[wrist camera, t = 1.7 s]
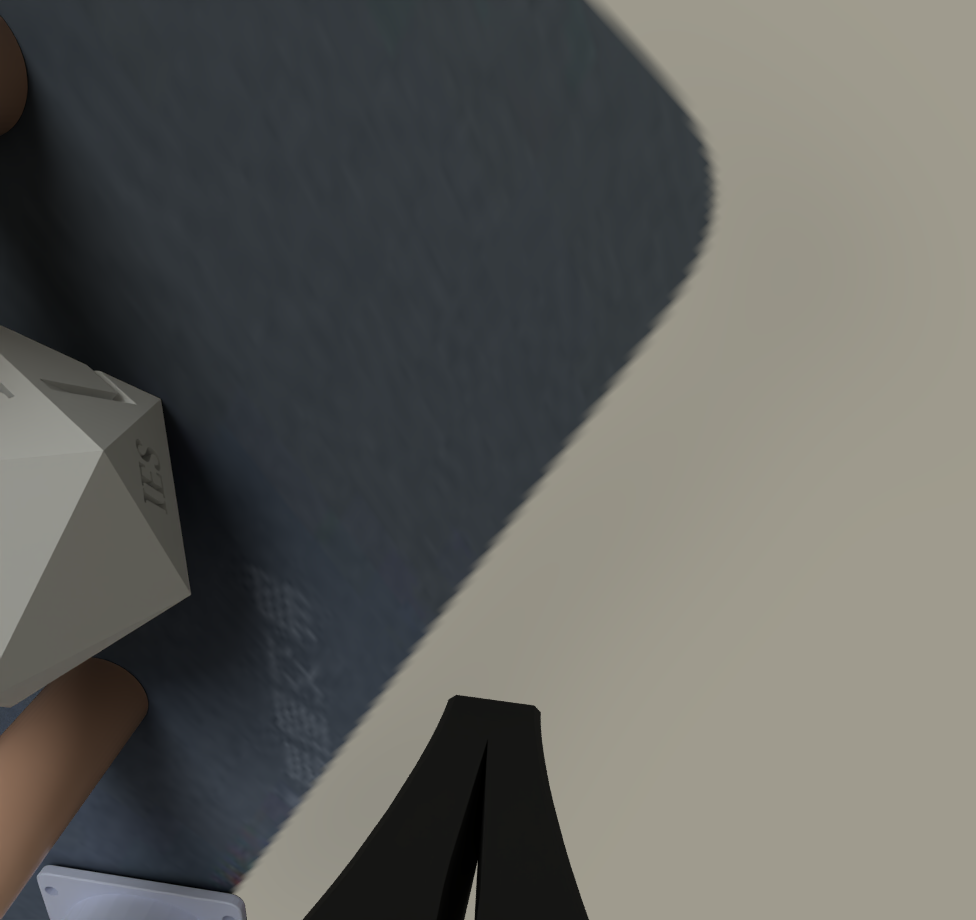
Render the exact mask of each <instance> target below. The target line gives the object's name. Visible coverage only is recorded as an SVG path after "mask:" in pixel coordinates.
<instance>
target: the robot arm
mask: <svg viewBox="0 0 976 920" xmlns="http://www.w3.org/2000/svg"><path fill="white" fill-rule="evenodd" d="M540 716H541V712H540V711H539V710H538V709H537V708H536V707H535V706H533V705H526V704H519V703H511V702H504V701H497V700H490V699H482V698H475V697H468V696H460V695H456V696H454V697H452V698H450V699H449V700H448V703H447V705H446V708H445V711H444V713H443V715H442V717H441V719H440V721H439V723H438V726H437V728H436V730H435V732H434V734H433V735H432V737H431V739H430V741H429V743H428V745H427V747H426V748H425V750H424V752H423V754H422V755H421V757H420V759H419V761H418V762H417V764H416V766H415V768H414V769H413V771H412V772H411V774H410V775H409V777H408V778H407V780H406V782H405V783H404V785H403V786H402V788H401V790H400V791H399V793H398V794H397V796H396V798H395V799H394V801H393V802H392V804H391V805H390V807H389V808H388V810H387V811H386V813H385V814H384V815H383V817H382V818H381V820H380V821H379V822H378V824H377V825H376V827H375V828H374V829H373V831H372V832H371V834H370V835H369V836H368V838H367V839H366V841H365V842H364V843H363V845H362V846H361V847H360V849H359V850H358V852H357V853H356V854H355V856H354V857H353V859H352V860H351V861H350V862H349V864H348V865H347V866H346V867H345V869H344V870H343V871H342V873H341V874H340V875H339V876H338V878H337V879H336V880H335V881H334V883H333V884H332V885H331V886H330V888H329V889H328V890H327V891H326V893H325V894H324V895H323V896H322V897H321V898H320V900H319V901H318V902H317V903H316V904H315V906H314V907H313V908H312V909H311V911H310V912H309V913H308V914H307V915H306V916H305V918H304V919H303V920H464V918H465V913H466V909H467V905H468V900H469V896H470V892H471V887H472V883H473V878H474V874H475V870H476V866H477V861H478V868H477V886H476V904H475V920H589V919H588V916H587V913H586V910H585V907H584V905H583V902H582V899H581V896H580V893H579V890H578V887H577V884H576V881H575V878H574V874H573V872H572V868H571V865H570V862H569V859H568V855H567V852H566V848H565V845H564V842H563V838H562V834H561V830H560V826H559V822H558V819H557V815H556V811H555V808H554V803H553V800H552V795H551V791H550V786H549V781H548V776H547V770H546V765H545V759H544V753H543V745H542V737H541V719H540ZM37 881H38V884H39V887H40V890H41V893H42V896H43V899H44V902H45V905H46V908H47V911H48V914H49V917H50V920H247V917H246V910H245V904H244V902H243V900H242V899H241V898H240V897H238V896H237V895H234V894H229V893H223V892H217V891H211V890H204V889H198V888H192V887H186V886H180V885H173V884H167V883H161V882H155V881H149V880H142V879H136V878H130V877H124V876H117V875H111V874H105V873H99V872H93V871H86V870H80V869H74V868H68V867H61V866H55V865H47V866H44V867H43V869H42V870H41V871H40V873H39V874H38V876H37Z"/></svg>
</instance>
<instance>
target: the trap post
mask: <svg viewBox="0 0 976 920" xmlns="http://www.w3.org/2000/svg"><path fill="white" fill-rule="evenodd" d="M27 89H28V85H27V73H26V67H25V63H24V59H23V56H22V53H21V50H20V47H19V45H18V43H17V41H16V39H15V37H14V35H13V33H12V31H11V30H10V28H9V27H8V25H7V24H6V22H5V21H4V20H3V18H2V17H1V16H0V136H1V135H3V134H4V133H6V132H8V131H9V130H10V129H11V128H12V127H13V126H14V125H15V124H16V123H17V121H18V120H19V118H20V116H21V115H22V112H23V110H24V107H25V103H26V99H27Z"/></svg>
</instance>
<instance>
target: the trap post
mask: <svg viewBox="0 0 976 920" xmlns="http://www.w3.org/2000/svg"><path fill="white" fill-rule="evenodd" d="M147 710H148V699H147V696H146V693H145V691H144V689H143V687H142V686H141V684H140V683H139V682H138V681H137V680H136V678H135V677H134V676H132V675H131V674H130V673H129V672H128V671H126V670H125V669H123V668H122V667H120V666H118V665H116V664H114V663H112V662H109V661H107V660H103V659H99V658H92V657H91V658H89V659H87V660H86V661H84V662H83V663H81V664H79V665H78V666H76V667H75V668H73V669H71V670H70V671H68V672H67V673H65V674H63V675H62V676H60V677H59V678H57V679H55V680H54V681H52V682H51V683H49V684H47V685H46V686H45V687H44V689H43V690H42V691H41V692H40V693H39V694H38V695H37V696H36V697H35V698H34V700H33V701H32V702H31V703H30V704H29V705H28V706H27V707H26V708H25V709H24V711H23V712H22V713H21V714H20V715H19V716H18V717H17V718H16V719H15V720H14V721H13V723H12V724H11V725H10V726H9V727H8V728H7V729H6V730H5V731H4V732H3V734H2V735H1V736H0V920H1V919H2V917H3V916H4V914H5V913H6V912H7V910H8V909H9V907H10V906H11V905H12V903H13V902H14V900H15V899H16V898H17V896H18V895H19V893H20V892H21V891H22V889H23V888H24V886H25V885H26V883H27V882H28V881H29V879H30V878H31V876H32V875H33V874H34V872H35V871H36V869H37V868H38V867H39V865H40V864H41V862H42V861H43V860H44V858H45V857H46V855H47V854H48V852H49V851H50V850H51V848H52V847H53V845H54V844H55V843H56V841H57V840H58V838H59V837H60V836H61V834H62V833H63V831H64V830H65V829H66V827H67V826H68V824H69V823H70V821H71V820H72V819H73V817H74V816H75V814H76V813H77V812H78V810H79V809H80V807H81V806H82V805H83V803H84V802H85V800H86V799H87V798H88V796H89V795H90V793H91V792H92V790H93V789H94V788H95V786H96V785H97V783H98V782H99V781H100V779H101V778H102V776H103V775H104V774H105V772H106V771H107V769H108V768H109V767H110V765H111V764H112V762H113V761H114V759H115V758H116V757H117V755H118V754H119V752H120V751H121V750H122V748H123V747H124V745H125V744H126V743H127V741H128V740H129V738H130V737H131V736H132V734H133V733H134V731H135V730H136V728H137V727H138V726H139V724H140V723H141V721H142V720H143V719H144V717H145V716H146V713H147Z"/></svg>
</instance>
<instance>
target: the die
mask: <svg viewBox="0 0 976 920" xmlns="http://www.w3.org/2000/svg"><path fill="white" fill-rule="evenodd" d="M190 595H191V590H190V584H189V578H188V571H187V565H186V558H185V552H184V545H183V539H182V532H181V526H180V519H179V513H178V506H177V500H176V493H175V487H174V481H173V474H172V468H171V461H170V455H169V448H168V442H167V435H166V429H165V422H164V416H163V409H162V403H161V399H160V398H157V397H155V396H153V395H151V394H149V393H147V392H144V391H142V390H140V389H138V388H136V387H134V386H131V385H129V384H127V383H125V382H123V381H121V380H118V379H116V378H114V377H112V376H110V375H108V374H105V373H103V372H101V371H93V370H92V369H91V368H90V367H88V366H87V365H86V364H84V363H82V362H79V361H77V360H75V359H73V358H71V357H68V356H66V355H64V354H62V353H60V352H58V351H55V350H53V349H51V348H49V347H47V346H45V345H42V344H40V343H38V342H36V341H34V340H32V339H29V338H27V337H25V336H23V335H21V334H19V333H16V332H14V331H12V330H10V329H8V328H6V327H3V326H1V325H0V707H10V708H11V707H12V706H14V705H15V704H17V703H19V702H20V701H22V700H23V699H25V698H27V697H28V696H30V695H31V694H33V693H35V692H36V691H38V690H39V689H41V688H43V687H44V686H46V685H47V684H49V683H51V682H52V681H54V680H55V679H57V678H59V677H60V676H62V675H63V674H65V673H67V672H68V671H70V670H71V669H73V668H75V667H76V666H78V665H79V664H81V663H83V662H84V661H86V660H87V659H89V658H91V657H92V656H94V655H95V654H97V653H99V652H100V651H102V650H103V649H105V648H107V647H108V646H110V645H111V644H113V643H115V642H116V641H118V640H119V639H121V638H123V637H124V636H126V635H127V634H129V633H131V632H132V631H134V630H135V629H137V628H139V627H140V626H142V625H143V624H145V623H147V622H148V621H150V620H151V619H153V618H155V617H156V616H158V615H159V614H161V613H163V612H164V611H166V610H167V609H169V608H171V607H172V606H174V605H175V604H177V603H179V602H180V601H182V600H183V599H185V598H187V597H188V596H190Z"/></svg>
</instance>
